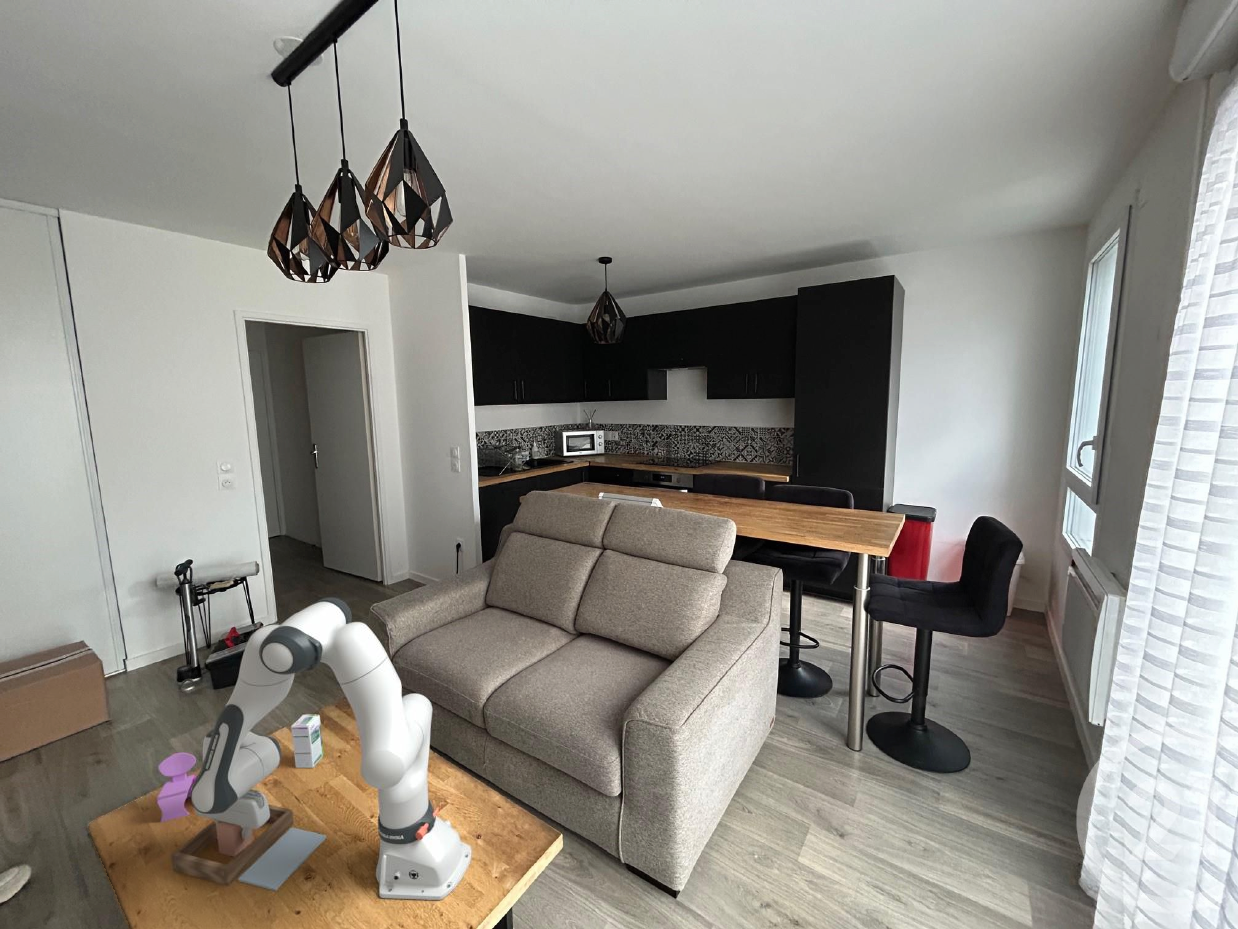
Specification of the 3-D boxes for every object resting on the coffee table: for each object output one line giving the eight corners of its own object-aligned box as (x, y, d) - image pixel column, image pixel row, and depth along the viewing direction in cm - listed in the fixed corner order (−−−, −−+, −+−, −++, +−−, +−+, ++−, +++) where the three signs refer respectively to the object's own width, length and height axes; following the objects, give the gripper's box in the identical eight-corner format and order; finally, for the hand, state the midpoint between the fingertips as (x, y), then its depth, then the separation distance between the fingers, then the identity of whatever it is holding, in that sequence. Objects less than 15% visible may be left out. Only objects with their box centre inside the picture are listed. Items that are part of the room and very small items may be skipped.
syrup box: (313, 768, 158) (309, 725, 156) (294, 768, 158) (290, 725, 156) (324, 755, 164) (320, 714, 162) (306, 755, 164) (302, 713, 162)
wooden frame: (293, 824, 137) (292, 809, 136) (228, 886, 120) (226, 869, 119) (243, 813, 141) (241, 798, 140) (173, 871, 123) (171, 855, 123)
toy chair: (154, 825, 137) (147, 775, 135) (167, 802, 145) (161, 754, 143) (193, 815, 140) (186, 765, 138) (203, 792, 148) (198, 745, 146)
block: (253, 840, 132) (250, 813, 131) (235, 857, 127) (231, 828, 126) (238, 837, 133) (235, 809, 132) (219, 853, 128) (215, 825, 127)
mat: (326, 838, 133) (326, 835, 133) (275, 892, 118) (275, 889, 118) (291, 830, 135) (291, 827, 135) (238, 881, 121) (237, 878, 121)
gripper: (274, 783, 129) (279, 832, 130) (210, 769, 133) (216, 817, 135) (250, 802, 122) (256, 853, 124) (185, 787, 127) (191, 836, 129)
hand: (235, 834), depth 130 cm, fingers closed on block, 5 cm apart
